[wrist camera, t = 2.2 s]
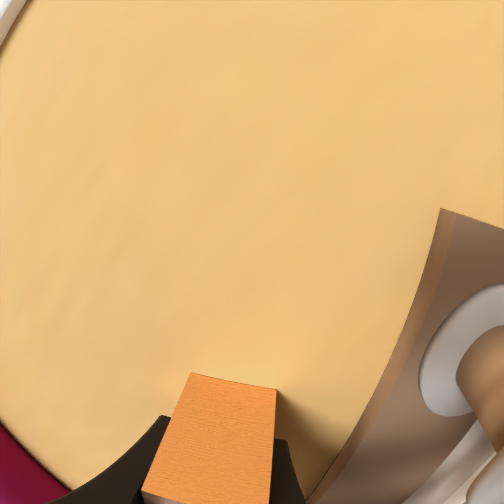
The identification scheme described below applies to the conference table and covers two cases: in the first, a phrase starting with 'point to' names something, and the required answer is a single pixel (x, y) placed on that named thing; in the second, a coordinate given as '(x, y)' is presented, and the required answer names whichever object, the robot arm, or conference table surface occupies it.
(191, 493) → the orange and brown block
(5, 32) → the external hard drive
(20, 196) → the conference table surface
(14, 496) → the book
